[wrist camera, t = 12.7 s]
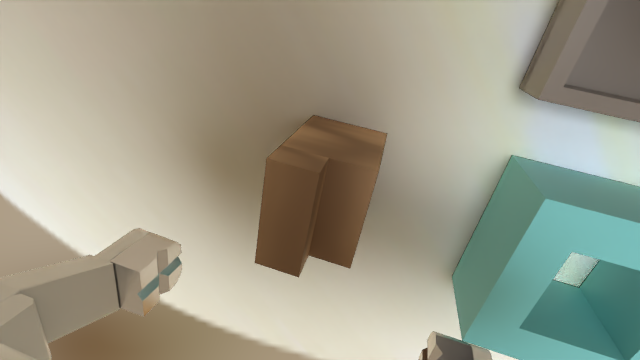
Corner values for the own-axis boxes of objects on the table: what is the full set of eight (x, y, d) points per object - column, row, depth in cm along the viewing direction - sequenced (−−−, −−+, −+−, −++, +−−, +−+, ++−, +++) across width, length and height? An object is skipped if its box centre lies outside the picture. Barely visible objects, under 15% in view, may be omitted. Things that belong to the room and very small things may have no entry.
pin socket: (452, 276, 19) (462, 340, 16) (512, 155, 16) (545, 198, 12) (596, 320, 18) (646, 401, 14) (697, 201, 15) (802, 265, 11)
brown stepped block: (299, 194, 20) (254, 263, 14) (313, 115, 17) (266, 158, 12) (364, 212, 19) (344, 292, 14) (387, 133, 17) (375, 188, 11)
